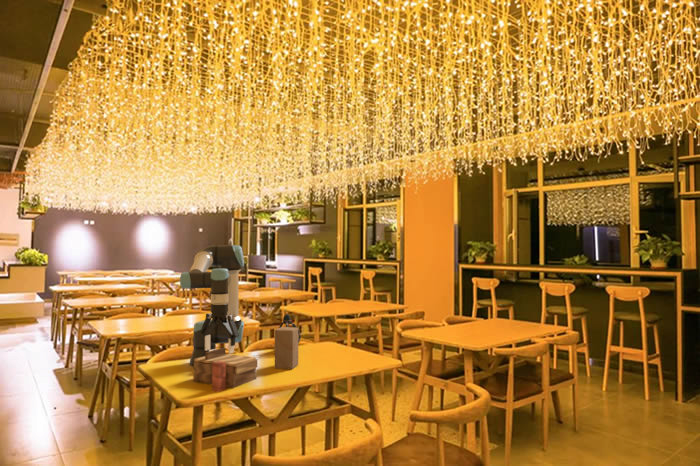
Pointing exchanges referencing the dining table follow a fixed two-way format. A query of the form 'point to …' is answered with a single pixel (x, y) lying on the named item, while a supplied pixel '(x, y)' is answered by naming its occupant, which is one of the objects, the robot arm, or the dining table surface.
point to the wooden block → (286, 347)
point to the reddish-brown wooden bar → (218, 376)
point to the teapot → (288, 321)
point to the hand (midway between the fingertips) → (219, 351)
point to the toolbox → (205, 375)
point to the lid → (229, 360)
